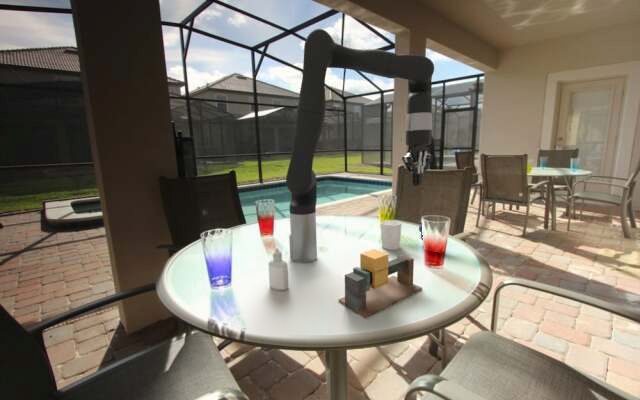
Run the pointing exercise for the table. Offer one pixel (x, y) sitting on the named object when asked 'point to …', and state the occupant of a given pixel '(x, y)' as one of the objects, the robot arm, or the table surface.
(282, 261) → the eye dropper bottle
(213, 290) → the table surface
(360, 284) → the wooden slider rail stand
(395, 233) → the white cup
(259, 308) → the table surface
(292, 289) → the table surface
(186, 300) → the table surface
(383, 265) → the yellow slider block
